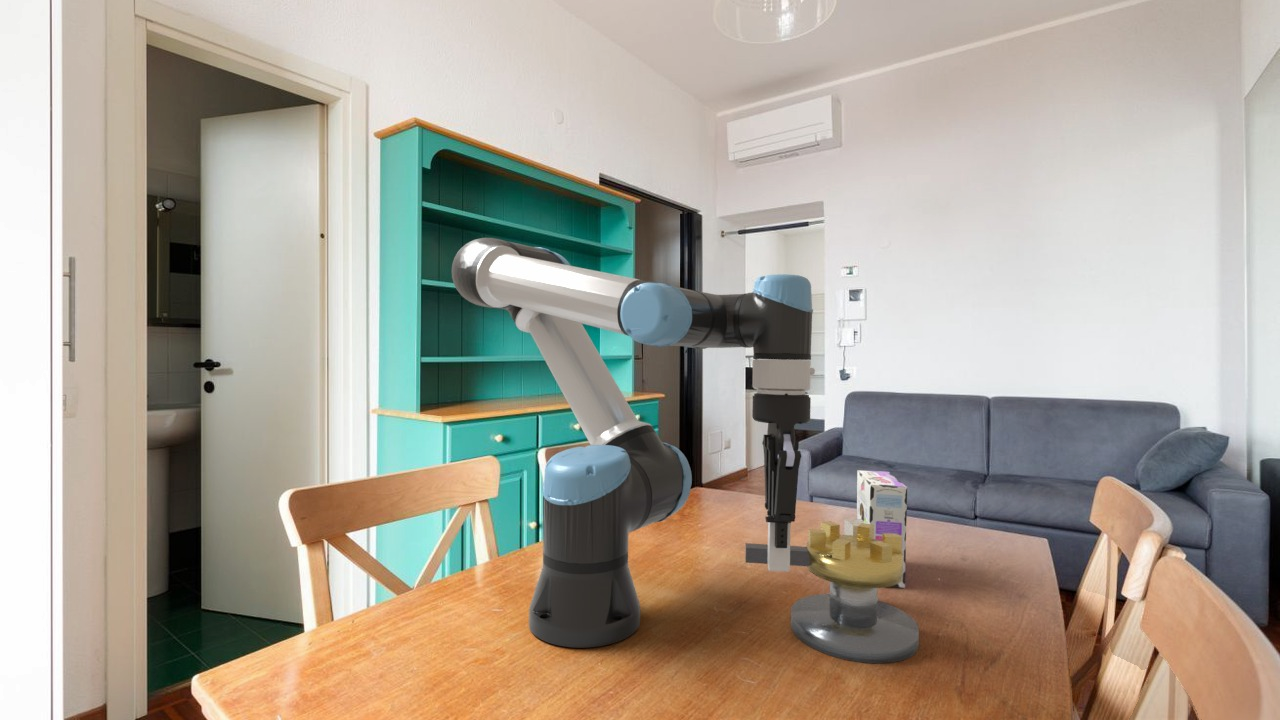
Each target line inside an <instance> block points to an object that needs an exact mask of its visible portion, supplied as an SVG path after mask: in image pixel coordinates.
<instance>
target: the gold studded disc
mask: <svg viewBox="0 0 1280 720" xmlns="http://www.w3.org/2000/svg"><path fill="white" fill-rule="evenodd" d="M840 530H841V529H840V524H839V523H836V522H833V521H829V520H828V521H820V529H819V528H818V529H817V528H816V529H814V528H812V529H811V528H808V539H807V540H808V541H807V543H806V545H807V546H800V545H799V546H798V545H790V566H796V567H807V569H808V571H809V572H810V573H811V574H813V575H814V576H816V577H818V578H821V579H822V580H825V581H827V582H829V583H830V582H834V583H837V584H841V585H846V586H853V587H861V588H878V589H881V588H889V587H890V588H891V586H894V585H896V584H898V583H900V582H901V581H902V579H903V553H902V537H901V536H900V535H899V534H892V533H883V535H882V541H880V540H876V539H874V525H871V524H866V523H861V524H860V525H858V535H857V536H853V535H844V534H841V533H840V532H841V531H840ZM744 545H745V546H744V547H745V549H744V550H745V551H744V553H745V554H744V556H745V557H744V558H745V559H744V560H745V561H744V562H745V563H749V564H764V565H767V557H768V543H767V544H765V543H747V542H745V543H744Z"/></svg>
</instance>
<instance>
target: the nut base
mask: <svg viewBox="0 0 1280 720" xmlns="http://www.w3.org/2000/svg"><path fill="white" fill-rule="evenodd" d="M861 523H865V522H864V521H863V520H862V519H857V518H844V525H843V526H844V528H843V529H844V531H843V532H844V534H843V535H853V536H857V535H858V525H860V524H861ZM866 524H867V523H866ZM878 589H879V588H861V587H853V586H846V585H841V584H837V583H834V582H830V581H829V593H818V594H813V595H808V596H804V597H802V598H800V599H798V600H796V601H795V602H794V603H793V604H792V605H791V610H790V628H791V630H792V632H793V634H794V635H795V637H796V638H797V639H798V640H799V641H800V642H802V643H803V644H805V645H806V646H809V647H810V648H812V649H813V650H816V651H818V652H820V653H822V654H826V655H829V656H830V657H834V658H836V659H841V660H844V661H845V660H846V661H850V662H856V663H865V664H890V663H898V662H901V661H905V660H908V659H910V658H911V657H913V656H914V655H915V654H916V653H917V652H918V650H919V643H920V629H919V625H918V622H917V621H916V620H915V619H914V618H913V617H912V616H911V615H909V614H908V613H906V611H903V610H902V609H900V608H898V607H896V606H893V605H892V604H889V603H887V602H883V601H881V600H878V591H879V590H878Z"/></svg>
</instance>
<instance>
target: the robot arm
mask: <svg viewBox="0 0 1280 720" xmlns="http://www.w3.org/2000/svg"><path fill="white" fill-rule="evenodd" d="M451 279H452V282H453V285H454V287H455V289H456V290H457V291H458V293H459V294H460V296H461V297H462V298H464V299H465V300H466V301H468V302H469V303H472V304H474V305H476V306H480V307H484V308H492V309H497V310H498V309H500V310H506V311H507V312H509V315H510V317H511V318H512V320H513V322H514V324H515V326H516V328H517V329H518V330H519V331H521V332H524V333H527V334H530V335H531V337H532V339H533V341H534V343H535V344H536V346H537V348H538V350H539V352H540V354H541V356H542V358H543V360H544V361H545V363H546V365H547V367H548V369H549V370H550V372H551V374H552V376H553V378H554V380H555V382H556V383H557V386H558V387H559V389H560V391H561V393H562V394H563V396H564V398H565V400H566V402H567V404H568V406H569V408H570V410H571V411H572V413H573V415H574V417H575V419H576V420H577V422H578V424H579V426H580V428H581V430H582V431H583V434H584V435H585V437H586V439H587V441H588V443H589V444H590V445H586V446H576V447H571V448H567V449H565V450H562V451H560V452H557V453H556V454H554V455H552V456H551V457H550V458H549V459H548V460H547V462H546V464H545V468H544V478H543V480H544V481H543V483H542V488H541V489H542V490H541V492H542V497H543V498H542V539H543V540H542V567H541V572H540V573H539V574H540V575H539V577H538V580H537V582H536V586H535V589H534V592H533V594H532V598H531V602H530V604H529V609H528V610H529V611H528V627H529V631H530V632H531V633H532V634H533V635H534V636H535V637H536V638H538V639H540V640H542V641H543V642H546V643H549V644H551V645H554V646H555V645H556V646H559V647H564V648H565V647H567V648H575V649H576V648H577V649H579V648H580V649H581V648H597V647H602V646H607V645H612V644H615V643H618V642H620V641H624V640H625V639H627V638H629V637H630V636H632V635H634V633H635V632H636V631H637V630H638V628H639V627H640V625H641V603H640V600H639V596H638V594H637V590H636V587H635V583H634V580H633V577H632V574H631V570H630V567H629V534H630V533H632V532H634V531H637V530H639V529H642V528H644V527H647V526H649V525H653V524H654V523H660V522H663V521H665V520H666V519H667V518H669V517H671V516H672V515H674V514H676V513H678V512H679V511H680V510H681V509H682V508H683V507H684V506H685V504H686V502H688V499H689V496H690V493H691V487H692V484H693V483H692V481H693V478H692V477H693V476H692V470H691V467H690V464H689V461H688V459H687V457H686V456H685V454H684V453H683V452H682V451H681V450H680V449H679V448H678V447H676V446H675V445H671V444H669V443H666V442H662V440H661V439H660V436H659V435H658V434H657V432H656V430H655V429H654V427H653V425H652V424H651V423H648V422H645V421H640V420H639V419H638V418H637V416H636V415H635V413H634V411H633V410H632V408H631V406H630V405H629V403H628V401H627V399H626V397H625V396H624V394H623V393H622V390H621V389H620V387H619V385H618V384H617V382H616V380H615V379H614V377H613V375H612V373H611V372H610V370H609V368H608V367H607V364H606V363H605V362H604V360H603V358H602V355H600V353H599V351H598V349H597V348H596V346H595V344H594V343H593V340H592V339H591V337H590V336H589V334H588V332H587V330H586V329H585V327H584V325H586V326H591V327H594V328H597V329H602V330H605V331H609V332H614V333H617V334H619V335H620V334H621V335H624V336H628V337H630V338H631V339H632V340H634V341H635V342H637V343H639V344H642V345H643V344H644V345H646V346H651V347H657V348H659V347H660V348H662V347H669V346H670V347H684V348H693V349H701V350H705V349H711V348H712V349H715V348H716V349H718V348H720V349H724V348H727V349H728V348H729V349H730V348H744V349H745V348H749V349H750V348H753V355H752V356H753V359H752V388H753V390H756V393H754V394H753V395H752V409H751V411H752V413H751V414H752V415H751V416H752V419H753V420H754V421H755V422H758V423H764V424H767V433H766V434H763V438H762V448H763V458H764V459H763V463H764V466H763V467H764V496H765V497H764V499H765V500H764V501H765V502H764V508H765V510H767V511H766V515H767V516H765V517H764V519H765V522H766V523H767V544H768V557H767V564H766V565H767V566H766V567H767V569H768V572H789V573H790V572H791V565H790V546H791V523H792V522H795V520H796V509H797V508H796V507H797V496H798V495H797V493H798V481H799V469H800V464H801V459H802V452H801V450H799V445H800V441H799V438H798V437H796V434H795V433H796V430H795V425H797V424H798V425H803V424H807V423H809V422H810V421H811V400H812V399H811V397H810V395H809V394H806V391H809V390H811V376H813V375H814V374H815V372H816V370H815V368H814V367H811V366H812V363H811V360H812V334H813V333H812V332H813V331H812V328H813V314H814V309H813V299H812V298H813V296H812V284H811V282H810V280H809V279H808V278H807V277H805V276H801V275H798V274H797V275H796V274H769V275H762V276H759V277H757V278H756V279H755V281H754V286H753V289H752V290H753V291H752V292H747V293H739V294H737V293H734V294H732V293H730V294H715V293H709V292H705V291H699V290H693V289H688V288H683V287H679V286H674V285H672V284H667V283H664V282H657V281H649V280H641V279H638V278H634V277H628V276H623V275H619V274H613V273H609V272H603V271H598V270H595V269H594V270H593V269H588V268H582V267H579V266H573V265H571V263H570V262H569V261H568V260H567V259H566V258H565V257H564V256H562V255H561V254H559V253H557V252H555V251H552V250H550V249H548V248H544V247H540V246H530V245H527V244H522V243H516V242H512V241H507V240H503V239H499V238H494V237H481V238H477V239H473V240H471V241H469V242H467V243H465V244H464V245H463V246H462V247H461V248H460V249H459V250H458V251H457V253H456V254H455V256H454V258H453V261H452V264H451Z"/></svg>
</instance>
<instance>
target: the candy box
mask: <svg viewBox="0 0 1280 720" xmlns="http://www.w3.org/2000/svg"><path fill="white" fill-rule="evenodd" d="M907 508H908V486H906V485H905V484H904V483H902V482H901V481H900V480H899V479H897V477H895V476H894V475H893V474H892V473H891V472H890V471H883V470H882V471H880V470H879V471H878V470H856V519H862V520H863V521H864V522H865V523H867V524H871V525H874V539H876V540H880V541H882V535H883V533H892V534H899V535H900V536H901V537H902V553H903V579H902V581H901V582H900V583H898V584H896V585H894V586H890V588H891V587H892V588H902V589H903V588H906V563H907V561H906V560H907V559H906V555H907V552H906V551H907V547H906V546H907V541H906V540H907V520H908V518H907V513H908V510H907Z"/></svg>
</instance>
